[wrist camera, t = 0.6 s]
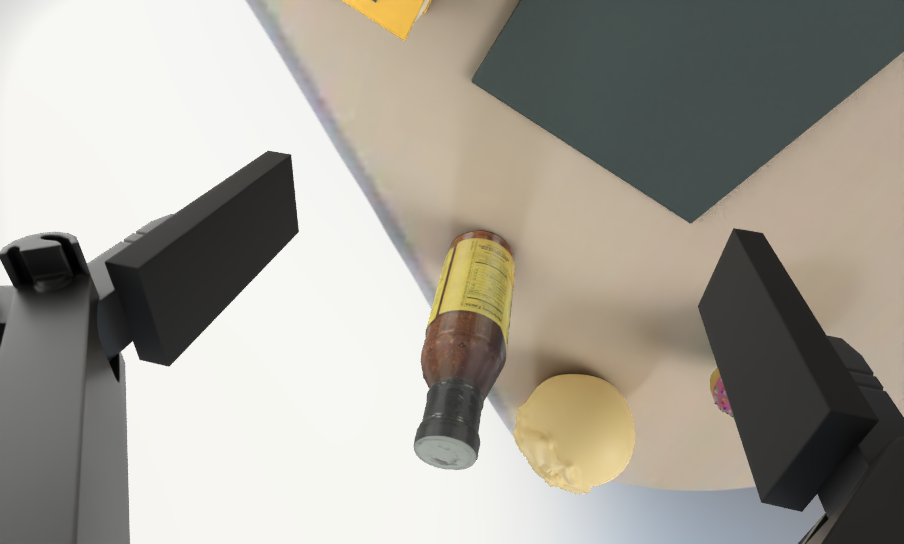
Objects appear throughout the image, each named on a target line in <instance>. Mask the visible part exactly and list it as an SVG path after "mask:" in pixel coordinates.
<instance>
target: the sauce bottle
mask: <svg viewBox="0 0 904 544" xmlns="http://www.w3.org/2000/svg"><path fill="white" fill-rule="evenodd" d="M514 277H515V263H514V258H513V253H512V251H511V248H510V246H509V245H508V243H507V242H506V241H504V240H503V239H502V238H500V237H499V236H497V235H494V234H493V233H491V232H490V233H489V232H486V231H483V230H480V231H472V232H469V233H465V234H463V235H461V236H458V237H457V238H456V239H455V240H454V241H453V243H452V245H451V247H450V250H449V252H448V254H447V256H446V258H445V261H444V265H443V269H442V273H441V276H440V280H439V284H438V288H437V292H436V295H435V299H434V303H433V306H432V310H431V314H430V318H429V321H428V325H427V329H426V339H425V342H424V346H423V350H422V354H421V365H422V371H423V378H424V379H425V381H426V383H427V385H428V387H429V388H430V389H429V391H428V393H427V403H426V407H425V412H424V416H423V421H422V422H421V424H420V426H419V428H418V429H417V433H416V437H415V442H414V450H415V453H416V455H417V456H418V457H419V458H420V459H421V460H423V461H424V462H425V463H427V464H429V465H432V466H434V467H438V468H442V469H454V470H460V469H466V468H469V467H470V466H472V465H473V464H474V463H475V461H476V460H477V457H478V450H479V446H480V438H479V435H478V430H479V423H480V416H481V410H482V408H483V403H484V400H485V398H486V397H487V395H488V393H489V391H490V390H491V388H492V386H493V385H494V383H495V381H496V379H497V378H498V376H499V374H500V372H501V371H502V369H503V367H504V364H505V361H506V353H507V344H508V334H509V326H510V315H511V306H512V296H513V286H514Z"/></svg>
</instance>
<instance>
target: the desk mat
mask: <svg viewBox="0 0 904 544" xmlns="http://www.w3.org/2000/svg"><path fill="white" fill-rule="evenodd" d="M902 52H904V0H520V2H519V3H518V5H517V6H516V8H515V10H514V11H513V13H512V15H511V16H510V18H509V20H508V21H507V23H506V24H505V26H504V28H503V29H502V31H501V33H500V34H499V36H498V38H497V39H496V41H495V42H494V44H493V46H492V47H491V49H490V51H489V52H488V54H487V56H486V57H485V59H484V60H483V62H482V64H481V65H480V67H479V69H478V70H477V72H476V74H475V75H474V77H473V79H472V82H473V83H474V84H476V85H477V86H479V87H480V88H482V89H483V90H485V91H487V92H488V93H490V94H491V95H493V96H494V97H496V98H497V99H499V100H500V101H502V102H504V103H505V104H507V105H508V106H510V107H511V108H513V109H514V110H516V111H518V112H519V113H521V114H522V115H524V116H525V117H527V118H528V119H530V120H531V121H533V122H535V123H536V124H538V125H539V126H541V127H542V128H544V129H545V130H547V131H548V132H550V133H552V134H553V135H555V136H556V137H558V138H559V139H561V140H562V141H564V142H565V143H567V144H569V145H570V146H572V147H573V148H575V149H576V150H578V151H579V152H581V153H582V154H584V155H586V156H587V157H589V158H590V159H592V160H593V161H595V162H596V163H598V164H599V165H601V166H603V167H604V168H606V169H607V170H609V171H610V172H612V173H613V174H615V175H616V176H618V177H620V178H621V179H623V180H624V181H626V182H627V183H629V184H630V185H632V186H633V187H635V188H637V189H638V190H640V191H641V192H643V193H644V194H646V195H647V196H649V197H650V198H652V199H654V200H655V201H657V202H658V203H660V204H661V205H663V206H664V207H666V208H667V209H669V210H671V211H672V212H674V213H675V214H677V215H678V216H680V217H681V218H683V219H684V220H686V221H688V222H689V223H692V222H694V221H695V220H696V219H697V218H699V217H700V216H701V215H702V214H703V213H705V212H706V211H707V210H708V209H710V208H711V207H712V206H713V205H715V204H716V203H717V202H718V201H720V200H721V199H722V198H723V197H724V196H726V195H727V194H728V193H729V192H731V191H732V190H733V189H734V188H736V187H737V186H738V185H739V184H741V183H742V182H743V181H744V180H745V179H747V178H748V177H749V176H750V175H752V174H753V173H754V172H755V171H757V170H758V169H759V168H760V167H762V166H763V165H764V164H765V163H766V162H768V161H769V160H770V159H771V158H773V157H774V156H775V155H776V154H778V153H779V152H780V151H781V150H783V149H784V148H785V147H786V146H788V145H789V144H790V143H791V142H792V141H794V140H795V139H796V138H797V137H799V136H800V135H801V134H802V133H804V132H805V131H806V130H807V129H809V128H810V127H811V126H812V125H813V124H815V123H816V122H817V121H818V120H820V119H821V118H822V117H823V116H825V115H826V114H827V113H828V112H830V111H831V110H832V109H833V108H834V107H836V106H837V105H838V104H839V103H841V102H842V101H843V100H844V99H846V98H847V97H848V96H849V95H851V94H852V93H853V92H854V91H855V90H857V89H858V88H859V87H860V86H862V85H863V84H864V83H865V82H867V81H868V80H869V79H870V78H872V77H873V76H874V75H875V74H877V73H878V72H879V71H880V70H881V69H883V68H884V67H885V66H886V65H888V64H889V63H890V62H891V61H893V60H894V59H895V58H896V57H898V56H899V55H900V54H901V53H902Z"/></svg>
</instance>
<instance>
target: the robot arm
mask: <svg viewBox="0 0 904 544" xmlns="http://www.w3.org/2000/svg"><path fill="white" fill-rule="evenodd" d="M298 232H299V230H298V220H297V210H296V201H295V190H294V181H293V170H292V160H291V155H290V154H284V153H278V152H272V151H267V152H265V153H264V154H263V155H261V156H260V157H258V158H257V159H255V160H254V161H252V162H251V163H249V164H248V165H247V166H245V167H243V168H242V169H240V170H239V171H238V172H236V173H235V174H233V175H232V176H230V177H229V178H227V179H226V180H224V181H223V182H221V183H220V184H218V185H217V186H215V187H214V188H212V189H211V190H209V191H208V192H207V193H205V194H204V195H202V196H201V197H199V198H198V199H196V200H195V201H193V202H192V203H190V204H189V205H187V206H186V207H184V208H183V209H181V210H180V211H178V212H177V213H175V214H170V215H168V216H165V217H162V218H159V219H157V220H154V221H151V222H150V223H148V224H147V225H145V226H144V227H142V228H141V229H139V230H138V231H136V234H134V233H133V234H132V235H130V236H129V237H127V238H126V239H124V242H120V243H118V244H116V245H115V246H113V247H112V248H110V249H109V250H107V251H106V252H104V253H103V254H101V255H100V256H98V257H97V258H95V259H94V260H92V261H91V262H89V263H88V264H87V263H86V261H85V258H84V256H83V253H82V250H81V248H80V246H79V243H78V240H77V238H76V237H75V236H73V235H71V234H69V233H61V232H49V233H40V234H35V235H30V236H26V237H24V238H21V239H18V240H16V241H13V242H12V243H10V244H8V245H7V246H5V247H4V248H3V249H2V250H1V251H0V260H1V262H2V264H3V265H4V268H5V270H6V272H7V274H8V276H9V278H10V280H11V282H12V284H13V286H0V544H130V535H129V498H128V496H129V495H128V459H127V424H126V423H127V421H126V385H125V384H126V382H125V362H124V359H123V356H122V354H121V351H122V350H123V349H124V348H125V347H126V346H127V345H129V344H130V343H131V342H132V341H133V342H134V345H135V348H136V351H137V354H138V356H139V359H140V360H143V361H148V362H152V363H156V364H161V365H165V366H170V365H171V364H172V363H173V362H174V361H175V360H176V359H177V358H178V357H179V356H180V355H181V354H182V353H183V352H184V351H185V349H187V347H188V346H189V345H190V344H191V343H192V342H193V341H194V340H195V339H196V338H197V337H198V336H199V335H200V334H201V333H202V332H203V331H204V330H205V329H206V328H207V327H208V325H210V324H211V323H212V321H213V320H214V319H215V318H216V317H217V316H218V315H219V314H220V313H221V312H222V311H223V310H224V309H225V308H226V307H227V306H228V305H229V304H230V303H231V302H232V301H233V300H234V299H235V297H236V296H237V295H238V294H239V293H240V292H241V291H242V290H243V289H244V288H245V287H246V286H247V285H248V284H249V283H250V282H251V281H252V280H253V279H254V278H255V277H256V276H257V275H258V274H259V273H260V272H261V271H262V269H263V268H264V267H265V266H266V265H267V264H268V263H269V262H270V261H271V260H272V259H273V258H274V257H275V256H276V255H277V254H278V253H279V252H280V251H281V250H282V249H283V248H284V246H286V244H287V243H288V242H289V241H290V240H291V239H292V238H293V237H294V236H295V235H296V234H297V233H298ZM698 308H699V311H700V314H701V317H702V320H703V323H704V326H705V329H706V333H707V336H708V339H709V342H710V345H711V348H712V351H713V354H714V357H715V360H716V363H717V367H718V370H719V373H720V376H721V379H722V382H723V385H724V388H725V391H726V394H727V397H728V401H729V404H730V407H731V410H732V413H733V416H734V419H735V422H736V425H737V428H738V432H739V435H740V438H741V441H742V444H743V447H744V450H745V453H746V456H747V459H748V462H749V466H750V469H751V472H752V475H753V478H754V481H755V484H756V487H757V490H758V493H759V496H760V500H761V502H762V503H766V504H771V505H775V506H780V507H784V508H788V509H792V510H797V511H801V512H802V511H803V510H804V508H805V507H806V506H807V505H808V504H809V503H810V502H811V500H812V499H813V498H814V497H815V496H816V495H817V494H818V496H819V498H820V501H821V503H822V505H823V508H824V510H825V512H826V513H825V514H824V515H823V516H822V517H821V519H820V520H819V521H818V522H817V523H816V524H815V525H814V526H813V527H812V529H811V530H810V531H809V532H808V533H807V534H806V535H805V536H804V537H803V539H802V540H801V541H800V542H799V543H798V544H904V417H903V416H902V414H901V413H900V411H899V410H898V408H897V407H896V405H895V404H894V403H893V401H892V400H891V398H890V397H889V395H888V394H887V392H886V391H883V386H882V385H881V383H880V382H879V380H878V379H877V377H875V376H873V372H872V370H871V369H870V367H869V366H868V364H867V363H866V361H865V360H864V358H863V357H862V355H860V354H859V353H858V352H857V351H856V350H855V349H853V348H852V347H851V346H850V345H849V344H847V343H846V342H845V341H844V340H843V339H842V338H837V337H831V336H826V334H825V332H824V331H823V329H822V328H821V326H820V324H819V323H818V321H817V320H816V318H815V316H814V315H813V313H812V312H811V310H810V308H809V307H808V305H807V304H806V302H805V300H804V299H803V297H802V295H801V294H800V292H799V291H798V289H797V287H796V286H795V284H794V283H793V281H792V279H791V278H790V276H789V275H788V273H787V271H786V270H785V268H784V267H783V265H782V263H781V262H780V260H779V259H778V257H777V255H776V254H775V252H774V251H773V249H772V247H771V246H770V244H769V243H768V241H767V239H766V238H765V236H764V235H763V233H759V232H753V231H747V230H741V229H735V228H733V231H732V233H731V235H730V237H729V239H728V242H727V244H726V246H725V248H724V250H723V253H722V255H721V257H720V259H719V261H718V264H717V266H716V268H715V270H714V272H713V275H712V277H711V279H710V281H709V283H708V285H707V288H706V290H705V292H704V294H703V296H702V299H701V301H700V303H699V305H698Z"/></svg>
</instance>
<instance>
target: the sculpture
mask: <svg viewBox="0 0 904 544" xmlns="http://www.w3.org/2000/svg"><path fill="white" fill-rule="evenodd" d="M513 435H514V438H515V442H516V444H517V446H518V447H519V450H520V451H521V452H522V453H523V455H524V456H525V457H526V459H527V461H528V463H529V464H530V466H531V467H532V469H533V470H534V471H535V472H536V473H537V474H538V475H539V476H540V477H541V478H543V479H544V480H545V482H547V483H548V485H549V486H555V487H559V488H561V489H563V490H566V491H569V492H571V493H574V494H581V493H586V494H588V493H589V491H590V489H591V487H594V486H598V485H601V484H604V483H607V482H609V481H611V480H612V479H614V478H615V477H617V476H618V475H619V474H620V473H621V472H622V471H623V470H624V469H625V467H626V466H627V464H628V463H629V461H630V459H631V456H632V453H633V450H634V444H635V427H634V421H633V417H632V414H631V411H630V409H629V407H628V404H627V403H626V401H625V399H624V398H623V396H622V395H621V394H620V392H619V391H618V390H617V389H616V388H615V387H614V386H613V385H611V384H610V383H608V382H607V381H605V380H603V379H600V378H597V377H594V376H589V375H582V374H563V375H558V376H554V377H551V378H549V379H547V380H545V381H544V382H542V383H541V384H540V385H539V386H538V387H537V388H536V389H535V390H534V391H533V392H532V394H531V395H530V397H529V398H528V400H527V401H526V402H525V403H524V404H523V405H521V406H520V407H519V410H518V414H517V415H516V424H515V428H514V431H513Z"/></svg>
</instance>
